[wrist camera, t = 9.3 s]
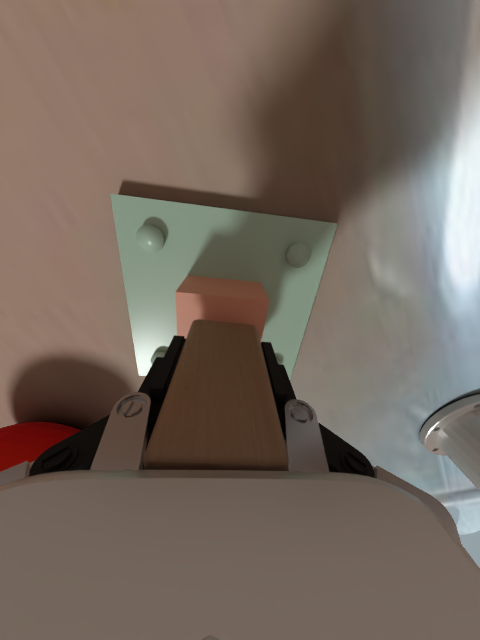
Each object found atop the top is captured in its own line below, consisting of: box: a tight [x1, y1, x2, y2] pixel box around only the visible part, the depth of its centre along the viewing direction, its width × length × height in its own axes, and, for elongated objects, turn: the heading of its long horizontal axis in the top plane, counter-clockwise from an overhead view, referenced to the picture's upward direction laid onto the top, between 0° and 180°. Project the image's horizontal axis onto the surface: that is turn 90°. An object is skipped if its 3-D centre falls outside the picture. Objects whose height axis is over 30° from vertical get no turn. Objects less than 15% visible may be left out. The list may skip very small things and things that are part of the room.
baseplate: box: [110, 194, 338, 380], centre depth 18 cm, size 16×16×2 cm
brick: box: [175, 275, 269, 343], centre depth 16 cm, size 6×6×4 cm
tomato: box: [0, 422, 81, 472], centre depth 21 cm, size 13×14×12 cm
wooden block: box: [144, 319, 289, 471], centre depth 9 cm, size 4×4×8 cm
